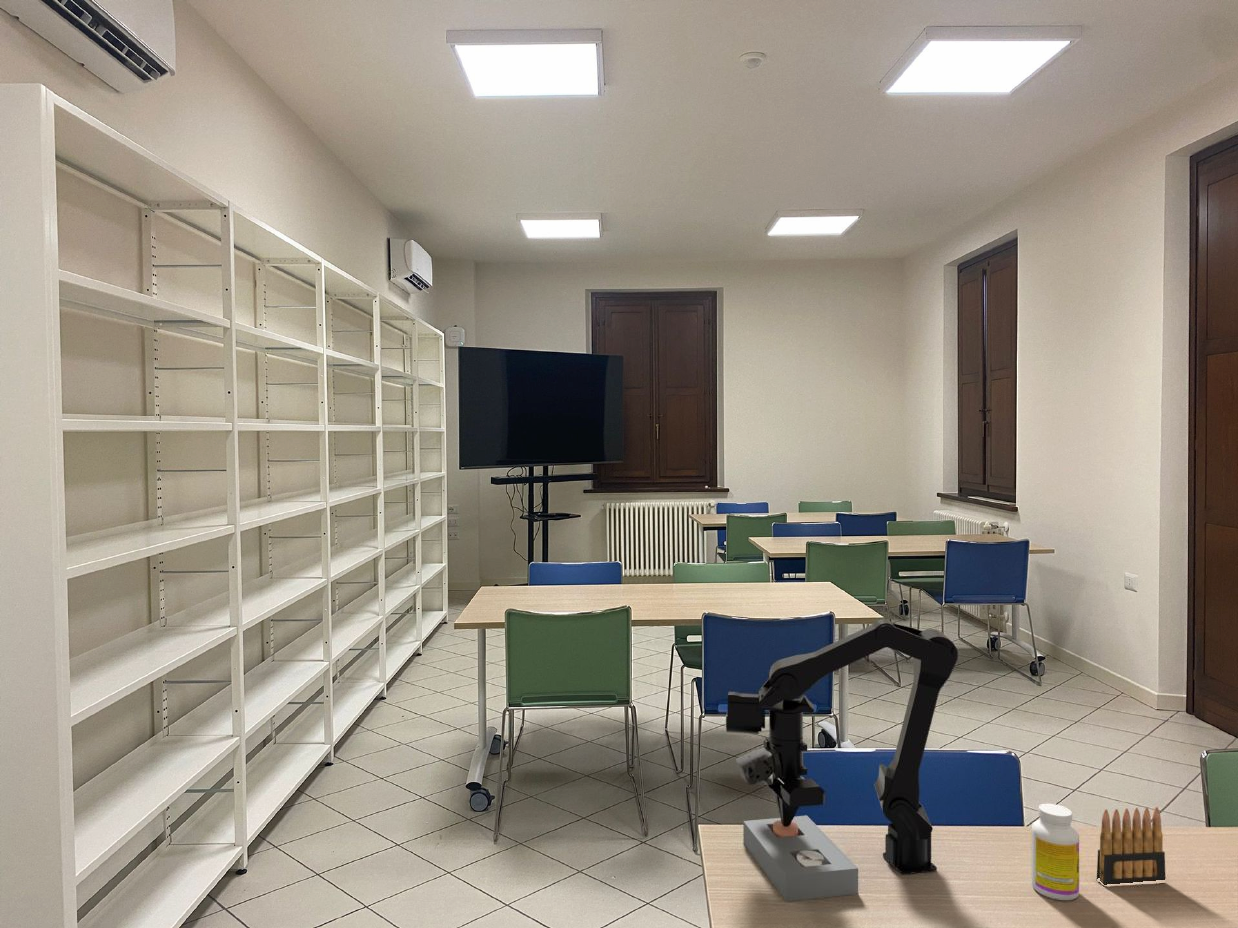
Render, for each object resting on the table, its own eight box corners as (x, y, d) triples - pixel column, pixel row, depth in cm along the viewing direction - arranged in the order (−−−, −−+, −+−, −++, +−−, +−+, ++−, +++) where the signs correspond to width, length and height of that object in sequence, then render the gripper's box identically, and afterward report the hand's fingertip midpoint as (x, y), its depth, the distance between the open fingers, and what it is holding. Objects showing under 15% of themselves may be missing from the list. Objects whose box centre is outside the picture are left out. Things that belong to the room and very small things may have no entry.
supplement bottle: (1085, 904, 123) (1086, 820, 122) (1038, 899, 124) (1039, 816, 124) (1070, 882, 129) (1070, 802, 129) (1025, 877, 130) (1026, 798, 130)
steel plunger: (816, 867, 131) (816, 849, 131) (828, 880, 127) (828, 861, 127) (792, 869, 130) (792, 851, 130) (803, 883, 126) (803, 864, 126)
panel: (806, 837, 144) (806, 815, 144) (858, 893, 125) (858, 868, 125) (743, 843, 142) (743, 820, 142) (786, 901, 123) (786, 875, 123)
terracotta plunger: (791, 835, 141) (791, 818, 141) (801, 847, 137) (801, 829, 137) (769, 837, 140) (769, 820, 140) (778, 849, 136) (778, 831, 136)
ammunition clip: (1157, 877, 131) (1157, 804, 131) (1166, 883, 129) (1166, 809, 129) (1096, 880, 130) (1096, 806, 129) (1104, 887, 128) (1104, 811, 128)
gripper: (724, 720, 146) (723, 806, 146) (761, 758, 128) (761, 855, 128) (781, 717, 148) (781, 801, 148) (826, 753, 130) (826, 849, 130)
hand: (785, 825), depth 138 cm, fingers closed, pressing on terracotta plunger
